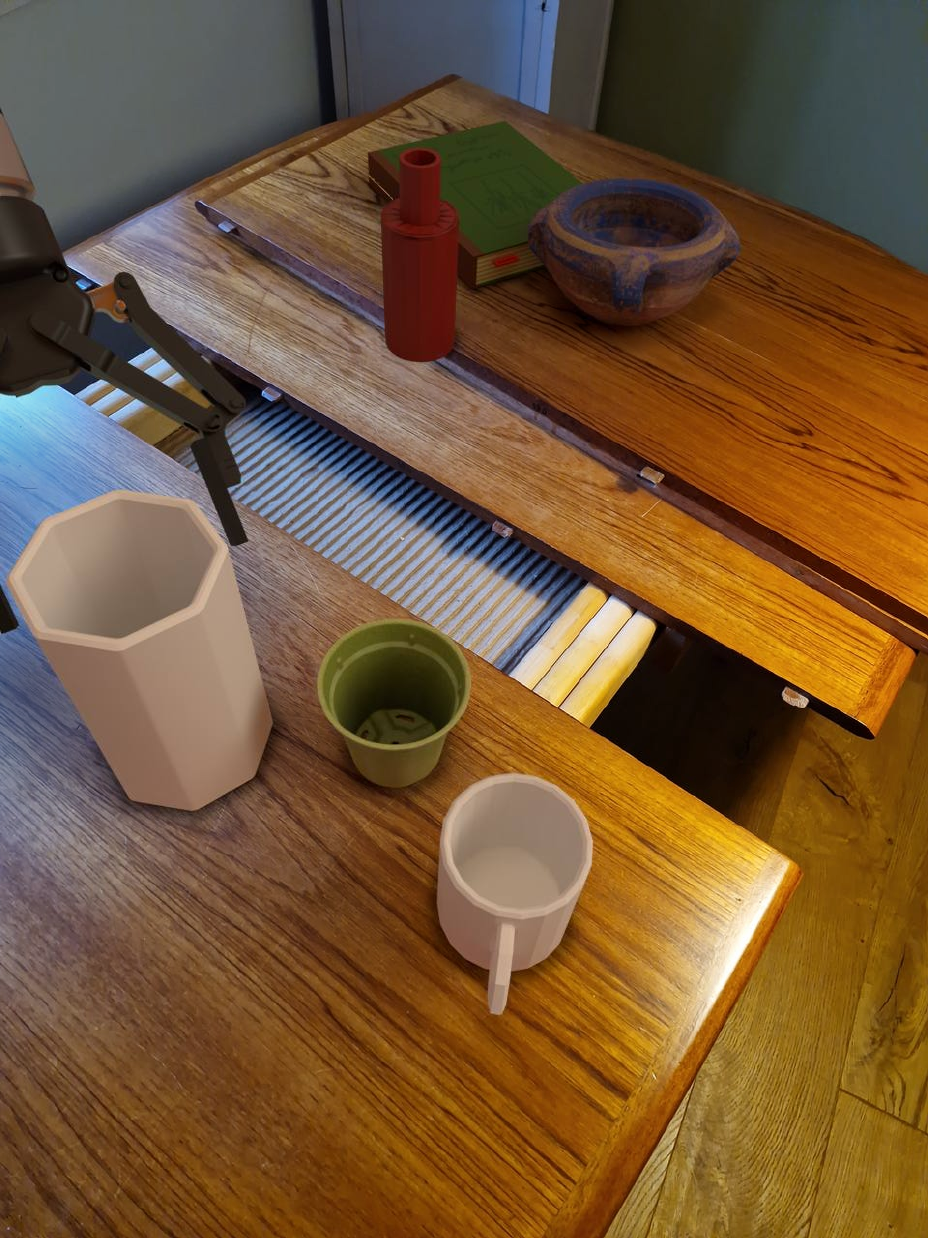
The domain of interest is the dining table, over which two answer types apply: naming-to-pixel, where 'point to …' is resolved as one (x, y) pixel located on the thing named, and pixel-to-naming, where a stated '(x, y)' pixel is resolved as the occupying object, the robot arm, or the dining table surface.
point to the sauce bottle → (419, 262)
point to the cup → (149, 643)
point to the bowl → (632, 247)
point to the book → (485, 195)
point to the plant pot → (394, 696)
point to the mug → (510, 874)
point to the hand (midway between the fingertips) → (130, 585)
